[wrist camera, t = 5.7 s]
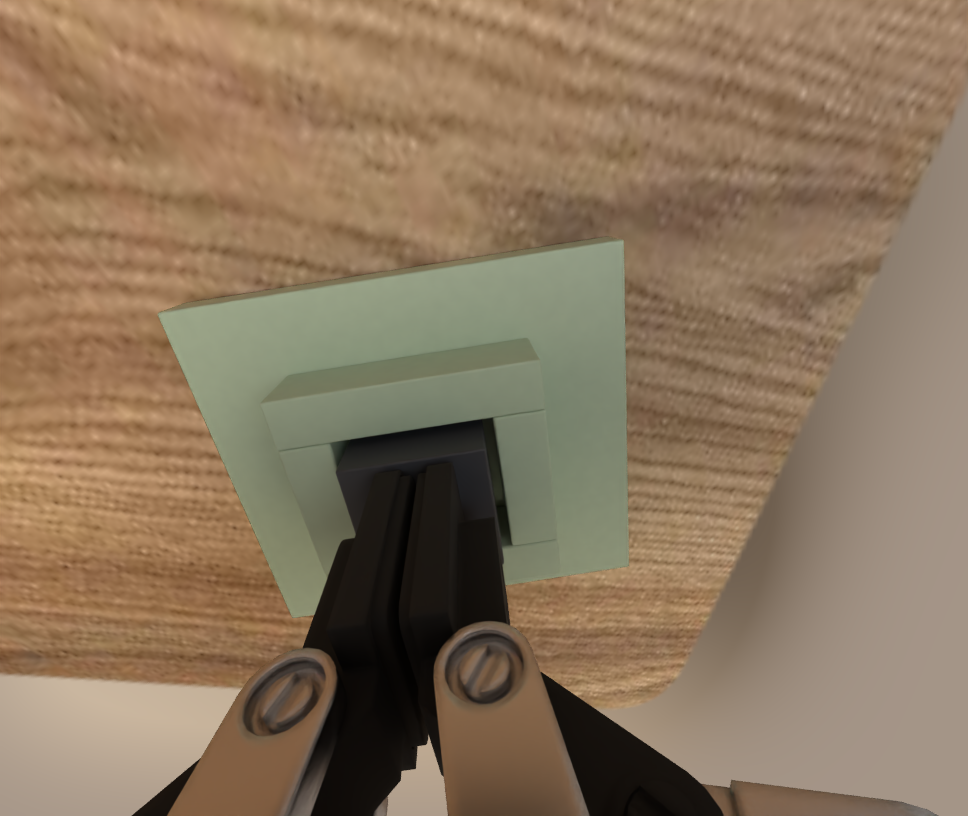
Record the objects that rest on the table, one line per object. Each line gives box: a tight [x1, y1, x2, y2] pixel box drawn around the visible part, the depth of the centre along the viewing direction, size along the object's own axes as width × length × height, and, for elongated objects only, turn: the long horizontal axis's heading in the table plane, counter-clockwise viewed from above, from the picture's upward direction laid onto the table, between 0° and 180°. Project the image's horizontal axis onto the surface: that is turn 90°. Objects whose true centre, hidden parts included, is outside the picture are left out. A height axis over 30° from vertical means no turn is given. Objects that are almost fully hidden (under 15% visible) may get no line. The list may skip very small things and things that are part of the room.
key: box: [336, 419, 504, 565], centre depth 11 cm, size 3×3×2 cm
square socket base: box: [158, 237, 629, 618], centre depth 12 cm, size 11×10×3 cm
